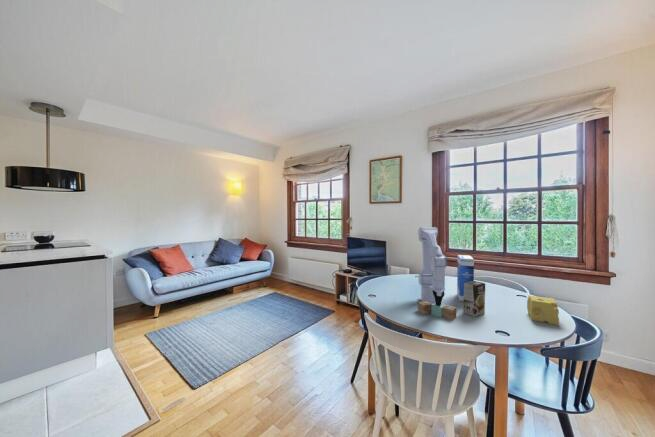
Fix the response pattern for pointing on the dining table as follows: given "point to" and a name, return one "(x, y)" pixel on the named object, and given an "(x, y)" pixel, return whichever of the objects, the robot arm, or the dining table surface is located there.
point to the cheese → (543, 309)
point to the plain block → (436, 310)
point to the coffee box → (474, 298)
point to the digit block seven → (449, 312)
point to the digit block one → (424, 307)
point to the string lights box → (464, 273)
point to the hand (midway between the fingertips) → (438, 305)
